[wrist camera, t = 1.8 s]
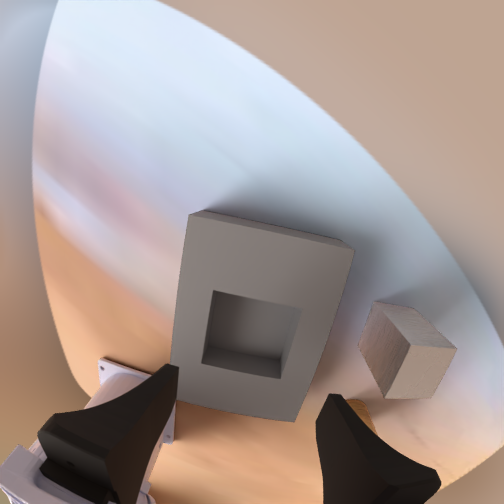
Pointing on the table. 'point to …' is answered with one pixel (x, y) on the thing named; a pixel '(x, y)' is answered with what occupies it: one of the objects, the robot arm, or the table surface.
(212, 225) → the bore block
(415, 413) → the table surface
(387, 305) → the square bit
